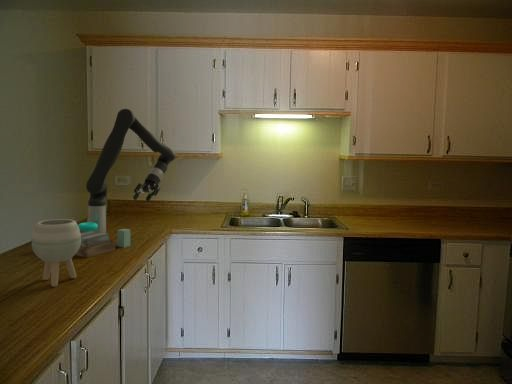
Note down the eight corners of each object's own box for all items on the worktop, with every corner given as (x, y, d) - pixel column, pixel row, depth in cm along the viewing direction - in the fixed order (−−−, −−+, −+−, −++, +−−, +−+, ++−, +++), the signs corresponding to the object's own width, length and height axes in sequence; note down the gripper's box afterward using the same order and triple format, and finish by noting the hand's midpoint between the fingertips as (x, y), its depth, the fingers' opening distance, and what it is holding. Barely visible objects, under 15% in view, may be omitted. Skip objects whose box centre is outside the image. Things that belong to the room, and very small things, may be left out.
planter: (88, 275, 152) (87, 218, 150) (70, 289, 136) (69, 226, 133) (46, 274, 151) (45, 217, 149) (23, 288, 135) (21, 225, 133)
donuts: (98, 221, 210) (96, 225, 201) (99, 239, 211) (96, 244, 202) (78, 222, 208) (75, 225, 198) (79, 240, 209) (75, 244, 199)
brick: (117, 246, 198) (117, 230, 197) (123, 244, 202) (123, 228, 201) (124, 247, 196) (124, 231, 195) (130, 245, 200) (130, 229, 199)
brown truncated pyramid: (61, 252, 183) (60, 236, 182) (90, 245, 198) (89, 229, 198) (87, 257, 176) (87, 240, 175) (115, 249, 191) (115, 233, 191)
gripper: (141, 172, 218) (126, 194, 208) (161, 173, 212) (147, 196, 203) (147, 181, 223) (133, 203, 214) (167, 182, 217) (154, 205, 208)
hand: (140, 199), depth 208 cm, fingers open, 8 cm apart
